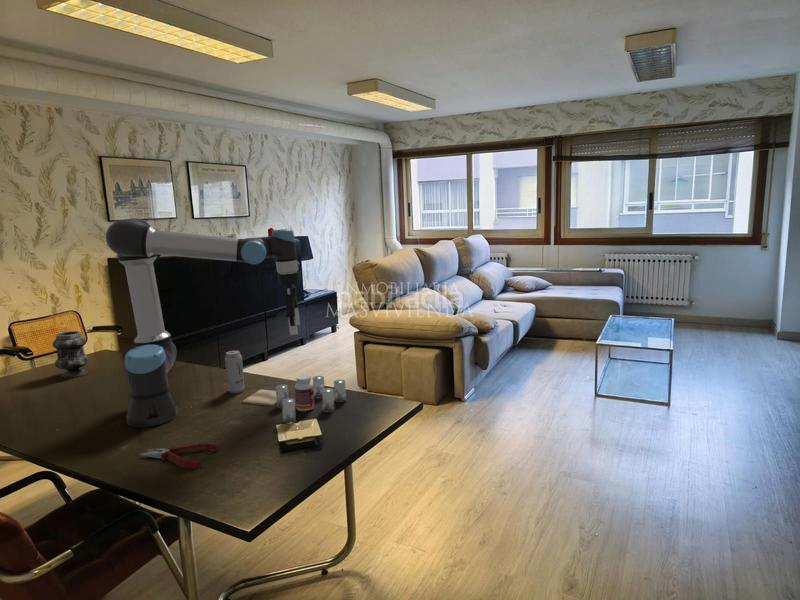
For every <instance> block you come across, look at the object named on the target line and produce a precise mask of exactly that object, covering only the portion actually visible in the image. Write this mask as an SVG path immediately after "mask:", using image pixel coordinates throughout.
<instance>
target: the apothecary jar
mask: <svg viewBox="0 0 800 600" xmlns="http://www.w3.org/2000/svg"><path fill="white" fill-rule="evenodd" d="M55 336H56V337H55V339H54V340H53V341H52V344H51V345H52V347H53V348H54V349H56V354H57V359H56V360H55V361H54V366H55V367H56V368H57V369H59V370H63V371H64V370H65V371H64V372H63V373H61V374H60V376H59V378H61V379H74V378H77V376H78V377H81V375H82V376H84V375H86V374H87V373H88V370H87V369H83V368H82V367H84V366H86V365H87V364H88V363H89V360H90V359H89V356H87V354H85V348H84V345H85V343H87V340H86V338H85V337H84V336H83V335H82V334H81V332H80V331H79V330H71V331H70V330H69V331H62V332H58V333H56V335H55Z"/></svg>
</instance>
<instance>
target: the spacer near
mask: <svg viewBox="0 0 800 600" xmlns="http://www.w3.org/2000/svg"><path fill="white" fill-rule="evenodd" d="M281 409H282V421H283V424H285V423H290V422H295V423H296V422H297V415H296V414H297V413H296V398H289V397H288V398H287V399H284V400H282V408H281Z"/></svg>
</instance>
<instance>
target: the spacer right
mask: <svg viewBox="0 0 800 600" xmlns="http://www.w3.org/2000/svg"><path fill="white" fill-rule="evenodd" d="M321 393H322V398H321V406H322V408H321V410H322V411H323V410H324V411H331V410H334V409H335V397H334V388H330V387H329V388H328V387H327V388H325V389H323V390H321ZM334 411H335V410H334Z"/></svg>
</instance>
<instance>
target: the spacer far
mask: <svg viewBox="0 0 800 600" xmlns="http://www.w3.org/2000/svg"><path fill="white" fill-rule="evenodd" d="M312 383H313V388H314V397H322V393H321V390H323V389H326V388H325V376H323V375H314V376H313V377H312Z"/></svg>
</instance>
